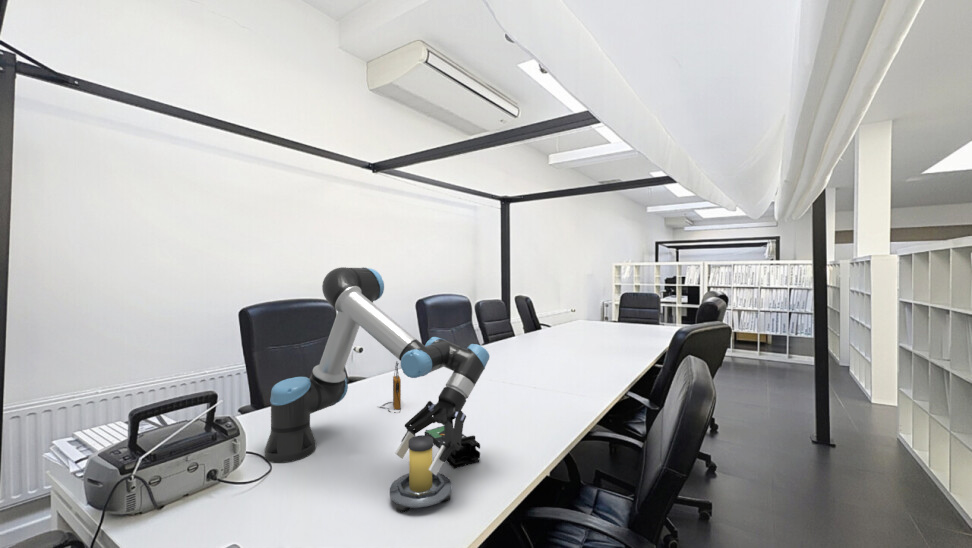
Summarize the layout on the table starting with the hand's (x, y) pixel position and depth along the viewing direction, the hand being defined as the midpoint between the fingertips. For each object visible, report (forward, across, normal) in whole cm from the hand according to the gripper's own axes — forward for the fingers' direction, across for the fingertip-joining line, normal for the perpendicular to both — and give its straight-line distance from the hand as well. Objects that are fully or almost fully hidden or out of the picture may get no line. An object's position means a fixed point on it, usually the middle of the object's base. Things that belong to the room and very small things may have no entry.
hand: (414, 464), depth 102 cm
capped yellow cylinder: (+3, 0, -6) cm, 7 cm away
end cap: (-10, +6, -24) cm, 27 cm away
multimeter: (-20, +65, -34) cm, 76 cm away
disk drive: (-15, +21, -30) cm, 39 cm away
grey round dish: (+5, 0, -8) cm, 10 cm away
